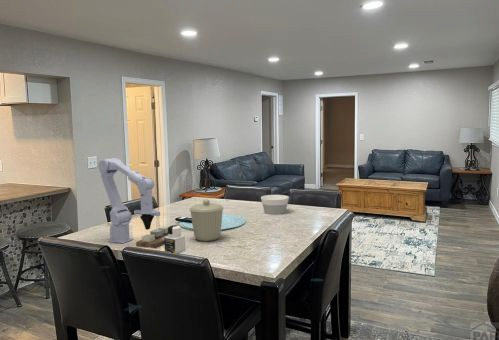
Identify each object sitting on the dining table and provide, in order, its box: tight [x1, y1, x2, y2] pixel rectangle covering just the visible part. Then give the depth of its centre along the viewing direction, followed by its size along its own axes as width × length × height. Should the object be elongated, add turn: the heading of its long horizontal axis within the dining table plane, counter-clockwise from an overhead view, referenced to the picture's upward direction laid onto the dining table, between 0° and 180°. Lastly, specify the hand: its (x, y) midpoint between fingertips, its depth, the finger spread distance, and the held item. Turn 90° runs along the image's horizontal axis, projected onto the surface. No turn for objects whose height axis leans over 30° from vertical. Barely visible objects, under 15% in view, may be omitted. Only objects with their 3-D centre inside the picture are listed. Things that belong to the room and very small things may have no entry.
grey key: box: [149, 228, 163, 237], centre depth 203 cm, size 5×5×2 cm
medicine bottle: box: [163, 224, 186, 254], centre depth 186 cm, size 7×7×12 cm
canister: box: [188, 198, 225, 242], centre depth 204 cm, size 18×18×21 cm
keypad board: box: [135, 233, 182, 249], centre depth 203 cm, size 12×22×2 cm, turn 157°
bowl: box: [260, 194, 290, 216], centre depth 266 cm, size 19×19×11 cm
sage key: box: [157, 225, 169, 233], centre depth 209 cm, size 5×5×2 cm
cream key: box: [141, 233, 155, 242], centre depth 197 cm, size 5×5×2 cm
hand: (147, 229), depth 196 cm, fingers closed
